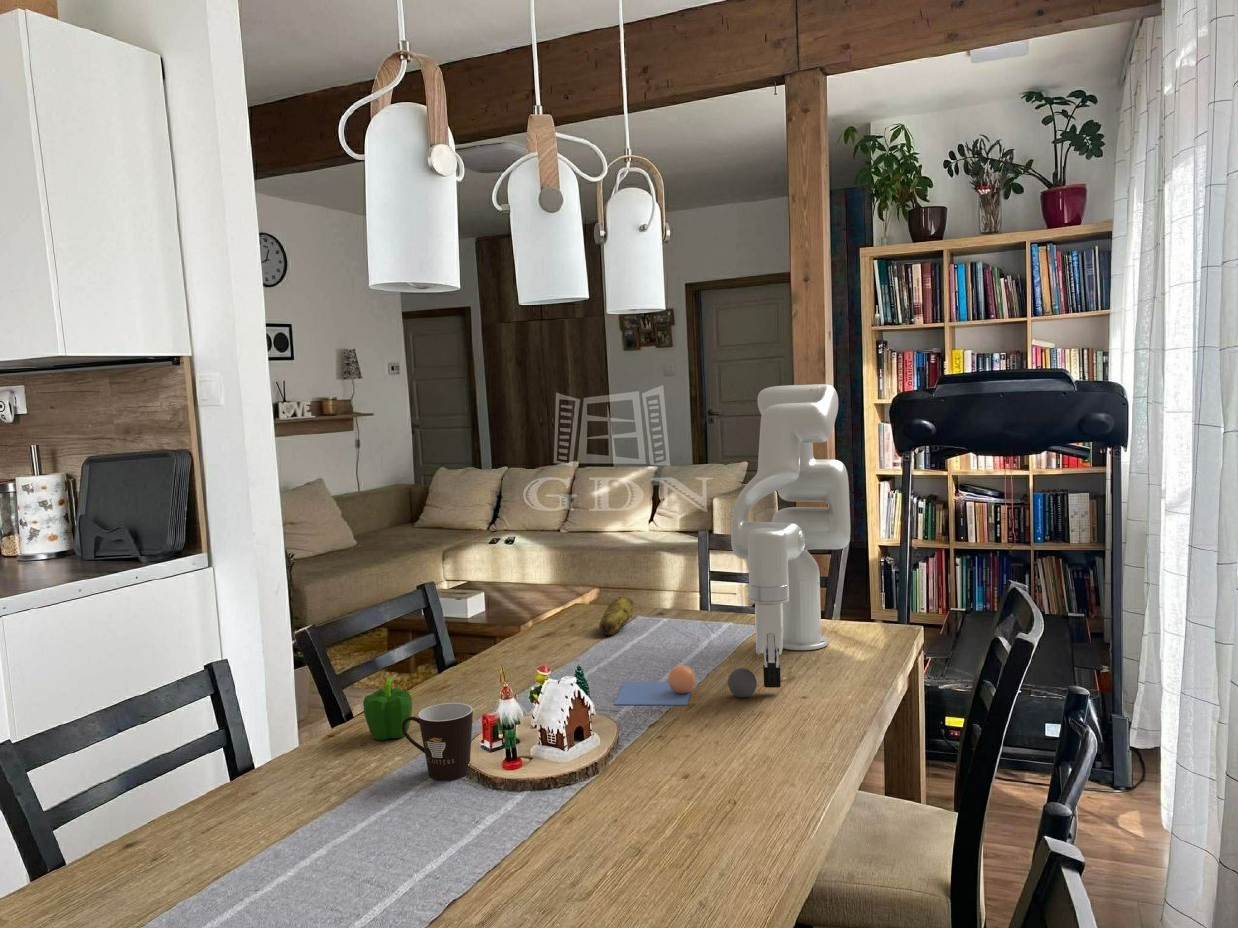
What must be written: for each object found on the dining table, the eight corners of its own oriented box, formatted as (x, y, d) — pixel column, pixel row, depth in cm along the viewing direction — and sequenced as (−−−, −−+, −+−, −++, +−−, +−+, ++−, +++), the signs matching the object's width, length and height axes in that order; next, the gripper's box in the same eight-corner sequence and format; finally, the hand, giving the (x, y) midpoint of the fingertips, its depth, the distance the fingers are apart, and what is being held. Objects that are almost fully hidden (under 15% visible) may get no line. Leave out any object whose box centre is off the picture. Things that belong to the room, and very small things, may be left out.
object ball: (702, 675, 186) (683, 694, 187) (682, 656, 186) (663, 675, 187) (700, 683, 181) (681, 703, 181) (679, 663, 181) (660, 683, 182)
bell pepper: (398, 746, 162) (394, 689, 162) (357, 742, 165) (353, 687, 164) (423, 729, 170) (419, 675, 170) (383, 726, 173) (380, 673, 172)
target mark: (624, 682, 193) (624, 681, 193) (692, 682, 191) (692, 681, 191) (614, 704, 179) (614, 703, 179) (687, 705, 177) (687, 704, 177)
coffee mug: (487, 770, 150) (484, 709, 149) (443, 788, 144) (439, 725, 143) (443, 753, 158) (440, 696, 157) (400, 770, 152) (396, 710, 151)
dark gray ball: (756, 663, 182) (750, 685, 184) (728, 661, 181) (723, 683, 183) (762, 681, 177) (756, 704, 179) (733, 680, 176) (728, 702, 179)
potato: (586, 634, 233) (584, 602, 233) (621, 623, 243) (620, 593, 242) (610, 639, 228) (608, 606, 227) (645, 628, 237) (644, 597, 237)
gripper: (749, 585, 188) (752, 674, 189) (749, 601, 173) (752, 698, 174) (787, 584, 187) (790, 674, 188) (790, 601, 172) (793, 698, 173)
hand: (772, 685), depth 181 cm, fingers closed
